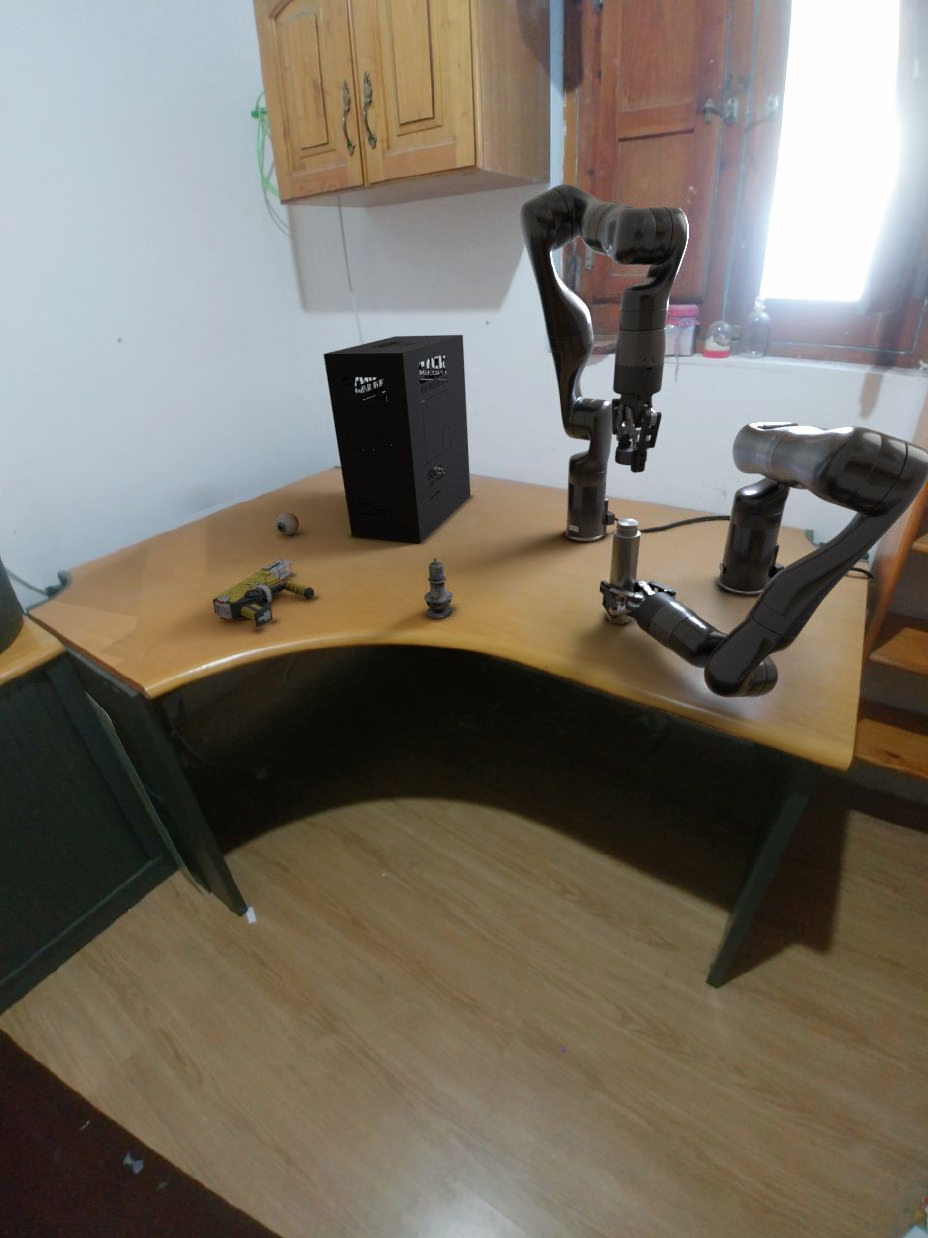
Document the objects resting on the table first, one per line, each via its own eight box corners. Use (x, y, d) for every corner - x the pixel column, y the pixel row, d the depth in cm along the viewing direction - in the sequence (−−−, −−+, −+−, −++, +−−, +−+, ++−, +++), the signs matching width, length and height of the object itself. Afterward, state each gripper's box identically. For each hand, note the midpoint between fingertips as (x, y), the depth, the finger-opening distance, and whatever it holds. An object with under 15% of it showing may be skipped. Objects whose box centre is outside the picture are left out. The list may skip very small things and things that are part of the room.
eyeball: (273, 537, 164) (268, 516, 161) (287, 528, 169) (282, 508, 166) (291, 539, 161) (286, 518, 158) (305, 530, 166) (301, 510, 163)
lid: (608, 461, 103) (609, 448, 102) (629, 455, 106) (630, 442, 105) (632, 467, 100) (633, 453, 98) (652, 461, 102) (654, 447, 101)
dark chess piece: (450, 619, 120) (446, 564, 114) (422, 617, 121) (416, 563, 115) (456, 605, 125) (453, 552, 119) (429, 603, 126) (424, 551, 120)
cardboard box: (410, 491, 192) (395, 336, 169) (470, 495, 185) (462, 334, 162) (351, 535, 161) (323, 353, 139) (420, 542, 155) (402, 352, 132)
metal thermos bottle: (609, 610, 120) (616, 516, 110) (633, 613, 119) (643, 518, 109) (604, 621, 116) (612, 525, 107) (629, 625, 115) (639, 527, 105)
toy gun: (334, 567, 137) (277, 555, 141) (271, 613, 117) (207, 598, 121) (335, 586, 139) (279, 574, 143) (273, 634, 119) (211, 619, 123)
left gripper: (599, 356, 100) (593, 458, 109) (636, 368, 88) (627, 481, 97) (641, 353, 101) (632, 454, 110) (684, 363, 89) (670, 476, 98)
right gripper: (707, 594, 103) (646, 557, 117) (636, 612, 99) (582, 572, 113) (701, 631, 107) (643, 591, 120) (632, 651, 102) (580, 607, 116)
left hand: (630, 466), depth 103 cm, fingers closed on lid, 5 cm apart
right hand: (614, 582), depth 116 cm, fingers closed on metal thermos bottle, 4 cm apart
